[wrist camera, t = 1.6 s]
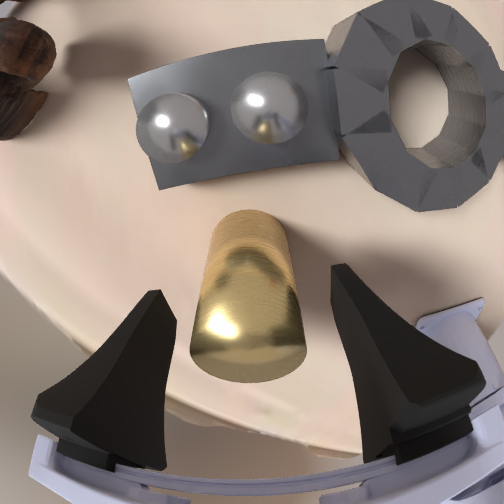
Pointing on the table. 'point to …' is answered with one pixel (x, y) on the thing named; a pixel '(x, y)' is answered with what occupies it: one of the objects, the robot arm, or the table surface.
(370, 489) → the robot arm
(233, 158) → the studded flange bracket
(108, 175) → the table surface
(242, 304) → the pin
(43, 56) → the rusty ring shackle
